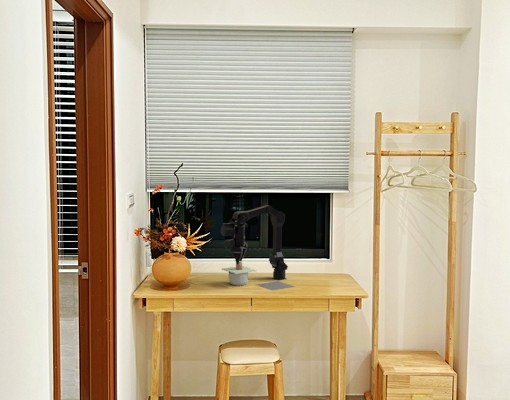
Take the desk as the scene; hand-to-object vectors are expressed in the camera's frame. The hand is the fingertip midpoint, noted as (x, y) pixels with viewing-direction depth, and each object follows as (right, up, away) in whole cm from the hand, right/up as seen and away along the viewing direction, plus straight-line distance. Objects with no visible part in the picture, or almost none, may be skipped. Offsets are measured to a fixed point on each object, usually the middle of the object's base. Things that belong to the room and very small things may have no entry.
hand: (238, 262), depth 321 cm
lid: (0, -4, 0) cm, 4 cm away
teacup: (0, -13, +1) cm, 13 cm away
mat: (+20, -13, -3) cm, 24 cm away
